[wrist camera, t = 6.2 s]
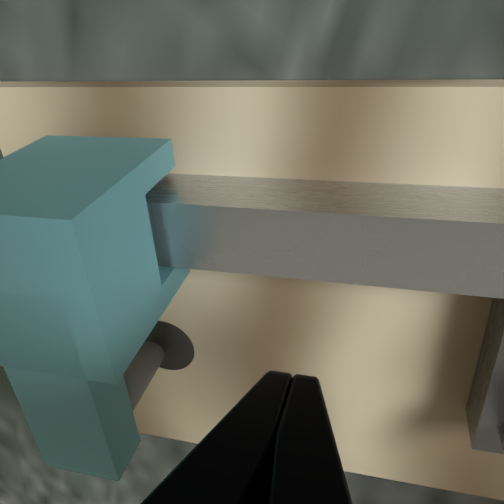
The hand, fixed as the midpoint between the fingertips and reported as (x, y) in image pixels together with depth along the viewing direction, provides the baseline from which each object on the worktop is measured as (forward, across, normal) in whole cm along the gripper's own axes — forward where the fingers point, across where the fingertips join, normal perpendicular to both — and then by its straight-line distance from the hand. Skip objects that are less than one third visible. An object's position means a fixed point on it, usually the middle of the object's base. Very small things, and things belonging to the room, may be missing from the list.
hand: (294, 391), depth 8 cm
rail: (+8, +1, 0) cm, 8 cm away
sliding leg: (+6, +7, +2) cm, 9 cm away
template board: (+8, +1, +4) cm, 9 cm away
